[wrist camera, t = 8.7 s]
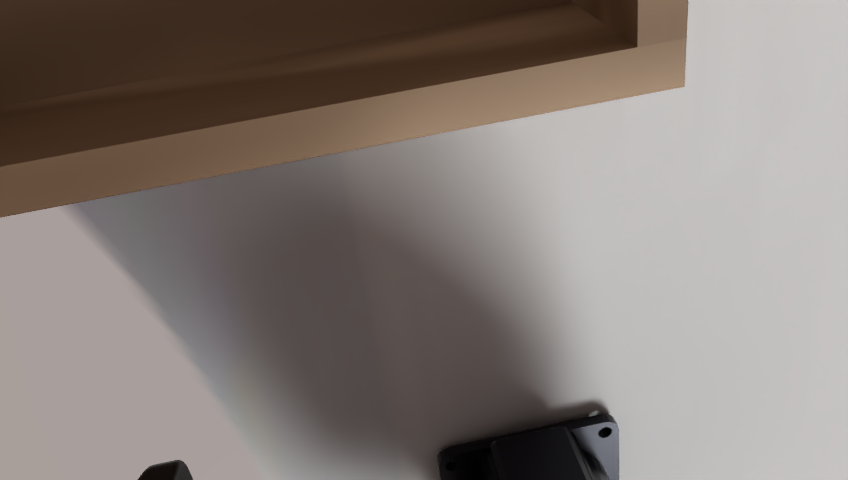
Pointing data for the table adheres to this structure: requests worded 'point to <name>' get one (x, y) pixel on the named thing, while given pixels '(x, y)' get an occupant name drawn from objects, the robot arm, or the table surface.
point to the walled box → (293, 80)
